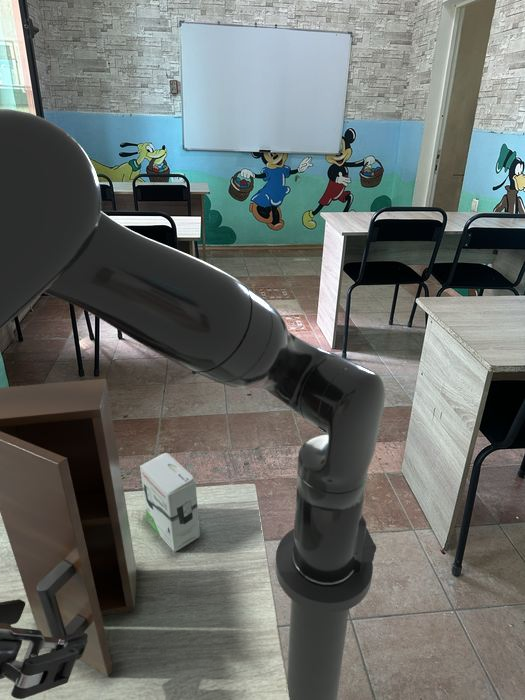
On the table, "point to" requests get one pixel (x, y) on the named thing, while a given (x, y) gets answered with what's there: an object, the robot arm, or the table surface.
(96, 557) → the cabinet
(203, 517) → the table surface
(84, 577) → the cabinet door
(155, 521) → the ink box
